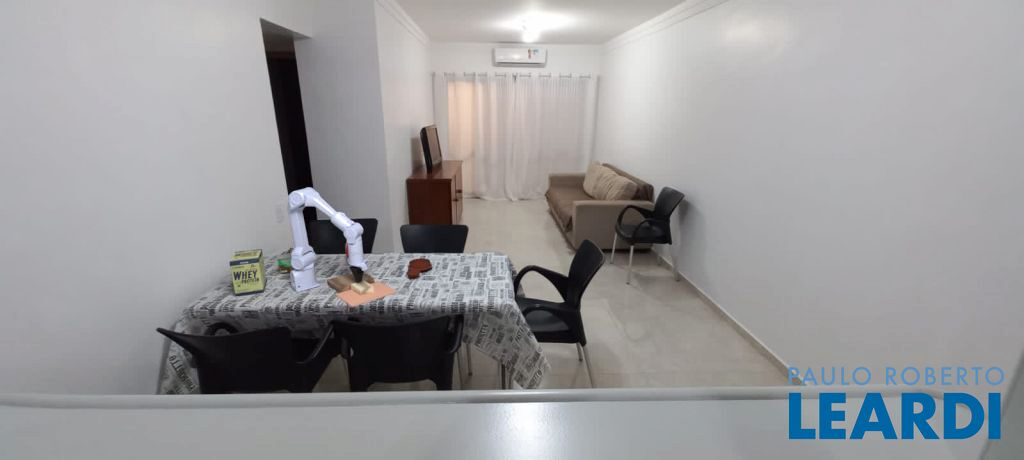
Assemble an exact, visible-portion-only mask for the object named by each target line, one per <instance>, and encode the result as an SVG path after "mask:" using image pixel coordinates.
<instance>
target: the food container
mask: <svg viewBox="0 0 1024 460" xmlns="http://www.w3.org/2000/svg"><path fill="white" fill-rule="evenodd" d="M294 248H295V247H289V249H287V250H286V251H283V252H282V253H280V254H276V260H277V263H278V268H279V271H280V274H281V275H284V274H290V271H292V270H294V268H293V267H292V265H291V258H292V256H291V253H292V251H293V250H294Z"/></svg>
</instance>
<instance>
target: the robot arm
mask: <svg viewBox="0 0 1024 460" xmlns="http://www.w3.org/2000/svg"><path fill="white" fill-rule="evenodd" d="M287 198H288V202H287V206H286V210H287V213H288V214H287V215H288V220H289V221H288V222H289V225H290V231H291V236H292V240H293V245H294V247H293V248H294V250H293V251H292V253H291V256H292V258H291V265H292V267H293V268H294V270H292V271H290V273H289V277H290V278H289V279H290V282H291V283H290V284H291V286H290V288H292V289H293V290H294V291H296V292H297V293H298V292H303V291H307V290H309V289H314V288H317V287H320V286H321V285H320V283H318V282H316V273H315V266H314V265H315V262H316V261H317V255H316V253H315V251H314V248H313V247H312V246H311V245H309V239H308V233H307V229H306V223H305V219H304V213H303V211H304V209H305V208H306V207H314V208H316V209H318V211H320V212H322V213H323V214H324V215H325V216H327V217H329V218H330V222H331V223H332V224H333V226H335V227H336V228H338V229H339V230H341V232H343V233H342V234H343V236H344V237H345V239H346V241H347V242H348V251H349V258H347V259H346V261H347V260H348V263H349V264H350V265H349V264H348V263H347V264H348V265H349V267H348V269H349V270H350V271H351V273H353V275H354V278H355V281H356V282H357V283H358V282H362V277H363V273H365V271H366V270H368V266H367V264H366V262H367V259H365V258H364V250H363V240H362V239H363V238H362V235H363V233H364V228H363V226H362V224H360V223H359V222H355V221H354V220H351V219H350V218H349V217H348V216H346V214H345V213H344V212H342V211H336V210H335V209H334V208H333V207H332V206H331V205H329V203H327V201H325V200H324V199H323V198H322V197H321V195H320V193H319V192H318V191H316V190H315V189H314V188H313V187H311V186H310V187H308V186H307V187H305V188H302V189H297V190H294V191H292V192H290V194H288V197H287Z"/></svg>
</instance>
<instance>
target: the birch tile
mask: <svg viewBox="0 0 1024 460" xmlns="http://www.w3.org/2000/svg"><path fill="white" fill-rule="evenodd" d="M351 290H353V291H354V292H356V293H357V294H359V295H360V296H361V295H364V294H368V293H371V292H374V286H372V285H371V284H369V283H367V282H366V281H362V282H358V283H357V282H356V283H353V284H351Z"/></svg>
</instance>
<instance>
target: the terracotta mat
mask: <svg viewBox="0 0 1024 460" xmlns="http://www.w3.org/2000/svg"><path fill="white" fill-rule="evenodd" d="M374 282H375V281H374ZM371 285H372V286H374V292H371V293H368V294H364V295H361V296H360V295H359V294H357V293H356V292H354V291H353V290H348V291H344V292H341V293H338V292H337V293H335V296H336V297H337V298H339V299H340V300H342V301H343V302H344V303H346V304H347V305H348V306H351V307H357V306H359V305H363V304H366V303H369V302H372V301H375V300H379V299H381V298H385V297H387V296H391V295H393V294H396V293H398V291H397V290H395V289H394V288H392V287H390V286H388V285H387V284H385V283H383V282H381V281H376V282H375V283H372V284H371Z"/></svg>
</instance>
